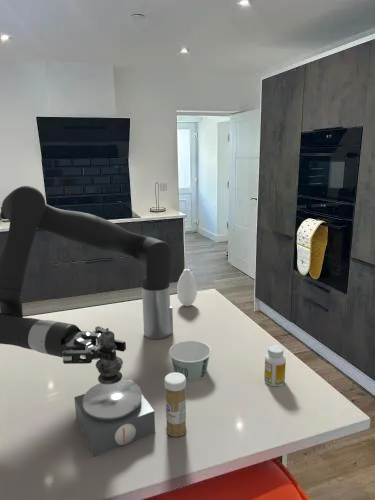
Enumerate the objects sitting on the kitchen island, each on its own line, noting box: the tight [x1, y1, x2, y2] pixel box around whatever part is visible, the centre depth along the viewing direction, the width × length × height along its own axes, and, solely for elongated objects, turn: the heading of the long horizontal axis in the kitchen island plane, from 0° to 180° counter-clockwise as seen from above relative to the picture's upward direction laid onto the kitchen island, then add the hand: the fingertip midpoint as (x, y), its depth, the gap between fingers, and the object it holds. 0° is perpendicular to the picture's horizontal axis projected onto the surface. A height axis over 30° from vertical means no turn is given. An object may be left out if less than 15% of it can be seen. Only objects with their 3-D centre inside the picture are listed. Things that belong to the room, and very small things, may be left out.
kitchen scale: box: [73, 379, 156, 457], centre depth 86 cm, size 14×15×5 cm
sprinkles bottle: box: [164, 372, 187, 438], centre depth 83 cm, size 5×5×13 cm
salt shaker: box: [95, 327, 124, 384], centre depth 82 cm, size 6×6×12 cm
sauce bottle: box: [176, 263, 198, 307], centre depth 152 cm, size 8×8×18 cm
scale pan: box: [83, 379, 143, 421], centre depth 85 cm, size 13×13×3 cm
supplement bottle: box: [263, 344, 286, 387], centre depth 101 cm, size 5×5×10 cm
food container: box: [168, 340, 212, 381], centre depth 107 cm, size 12×12×6 cm
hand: (119, 351), depth 81 cm, fingers closed on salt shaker, 3 cm apart
